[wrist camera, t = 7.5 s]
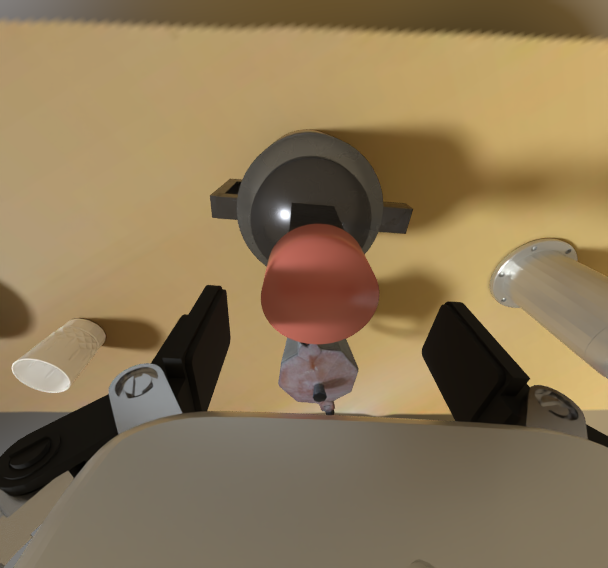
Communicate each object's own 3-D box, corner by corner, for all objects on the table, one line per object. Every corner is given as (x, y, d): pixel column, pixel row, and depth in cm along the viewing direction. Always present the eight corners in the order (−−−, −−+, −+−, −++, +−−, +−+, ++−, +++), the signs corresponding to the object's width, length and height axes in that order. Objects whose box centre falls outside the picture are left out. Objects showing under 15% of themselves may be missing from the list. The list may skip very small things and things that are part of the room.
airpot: (387, 136, 32) (523, 159, 13) (366, 235, 39) (433, 348, 20) (236, 122, 31) (132, 123, 12) (241, 226, 38) (180, 336, 19)
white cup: (55, 314, 46) (0, 358, 38) (100, 315, 46) (56, 359, 38) (74, 346, 50) (28, 392, 42) (115, 347, 50) (79, 393, 42)
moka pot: (328, 254, 41) (349, 349, 24) (350, 325, 49) (378, 435, 32) (271, 272, 42) (253, 372, 25) (302, 338, 50) (304, 449, 33)
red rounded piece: (350, 194, 20) (392, 252, 11) (339, 259, 23) (365, 346, 14) (277, 188, 20) (260, 243, 11) (276, 255, 23) (261, 341, 14)
